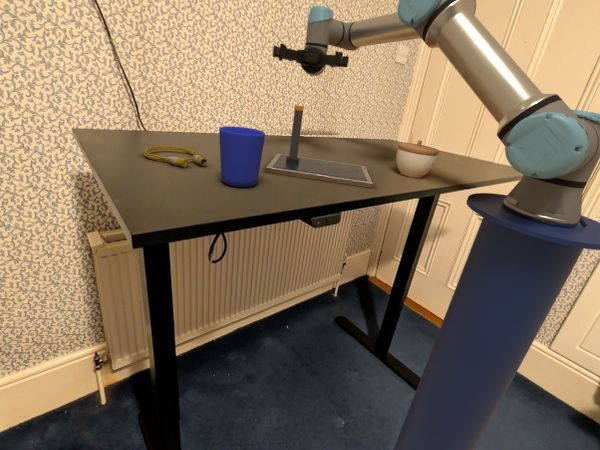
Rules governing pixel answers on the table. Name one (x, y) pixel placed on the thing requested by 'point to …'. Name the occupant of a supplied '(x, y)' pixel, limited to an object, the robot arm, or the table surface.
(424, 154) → the trinket box
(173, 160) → the extension cord
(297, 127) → the stylus
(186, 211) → the table surface
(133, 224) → the table surface
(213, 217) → the table surface
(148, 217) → the table surface
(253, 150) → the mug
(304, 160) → the tablet
